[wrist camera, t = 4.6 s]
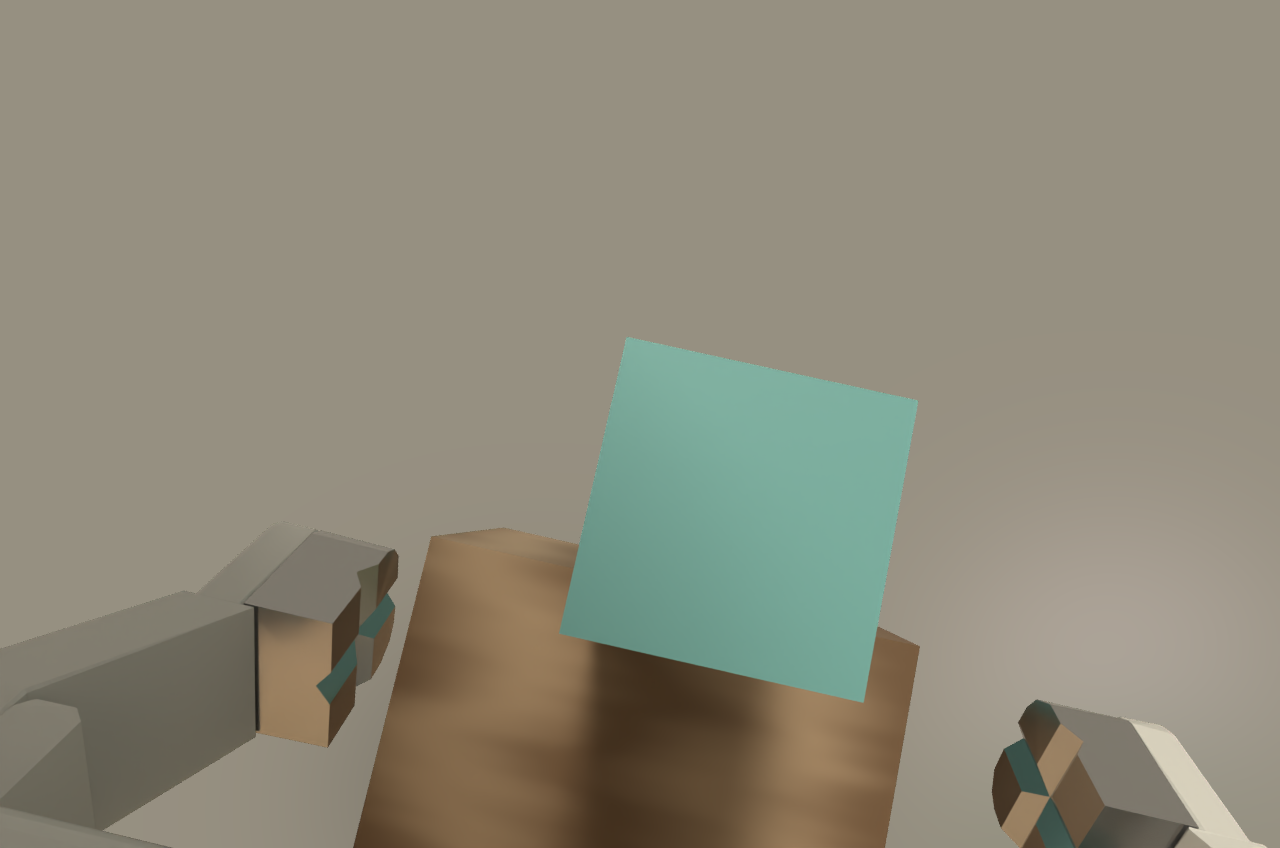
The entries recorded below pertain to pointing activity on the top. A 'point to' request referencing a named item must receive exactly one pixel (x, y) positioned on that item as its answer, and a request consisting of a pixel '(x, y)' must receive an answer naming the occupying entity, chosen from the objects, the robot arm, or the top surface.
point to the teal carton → (741, 519)
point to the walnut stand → (610, 729)
